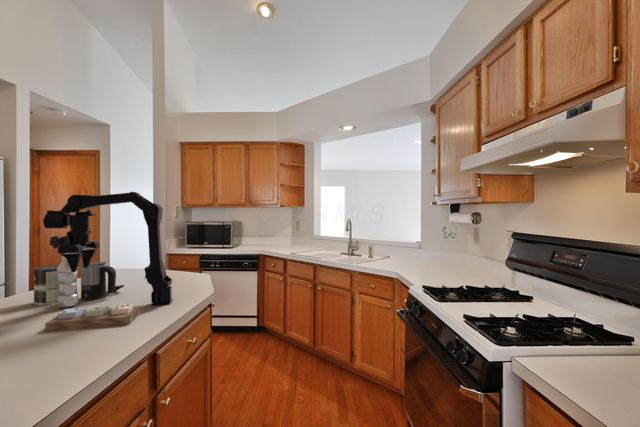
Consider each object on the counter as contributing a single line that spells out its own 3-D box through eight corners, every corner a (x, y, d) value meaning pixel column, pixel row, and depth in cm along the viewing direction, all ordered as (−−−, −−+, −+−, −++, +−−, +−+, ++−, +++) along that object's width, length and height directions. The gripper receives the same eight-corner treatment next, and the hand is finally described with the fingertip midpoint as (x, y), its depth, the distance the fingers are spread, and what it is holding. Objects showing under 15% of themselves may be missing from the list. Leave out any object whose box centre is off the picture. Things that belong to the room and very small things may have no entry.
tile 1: (108, 311, 108) (108, 305, 108) (102, 316, 103) (102, 309, 103) (91, 313, 106) (91, 306, 106) (84, 317, 101) (84, 311, 101)
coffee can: (29, 306, 122) (28, 270, 122) (39, 300, 132) (39, 266, 132) (62, 303, 127) (62, 268, 127) (69, 297, 136) (69, 264, 136)
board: (141, 312, 113) (141, 305, 113) (130, 324, 102) (130, 316, 102) (65, 318, 107) (65, 311, 107) (45, 331, 96) (45, 323, 96)
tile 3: (133, 310, 109) (133, 303, 109) (128, 314, 105) (128, 307, 105) (116, 311, 108) (116, 304, 108) (111, 315, 103) (111, 309, 103)
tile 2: (83, 313, 106) (83, 307, 106) (75, 318, 101) (75, 311, 101) (65, 315, 104) (65, 308, 104) (57, 319, 100) (57, 313, 100)
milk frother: (75, 301, 129) (75, 265, 129) (92, 292, 144) (91, 260, 144) (115, 299, 133) (114, 263, 133) (127, 290, 148) (127, 258, 148)
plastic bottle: (83, 304, 124) (83, 253, 124) (67, 309, 118) (67, 256, 118) (68, 304, 125) (68, 253, 125) (52, 309, 118) (51, 256, 118)
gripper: (67, 227, 126) (67, 266, 126) (39, 229, 108) (39, 275, 108) (99, 227, 129) (99, 265, 129) (77, 229, 111) (77, 273, 111)
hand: (79, 269), depth 119 cm, fingers open, 9 cm apart
